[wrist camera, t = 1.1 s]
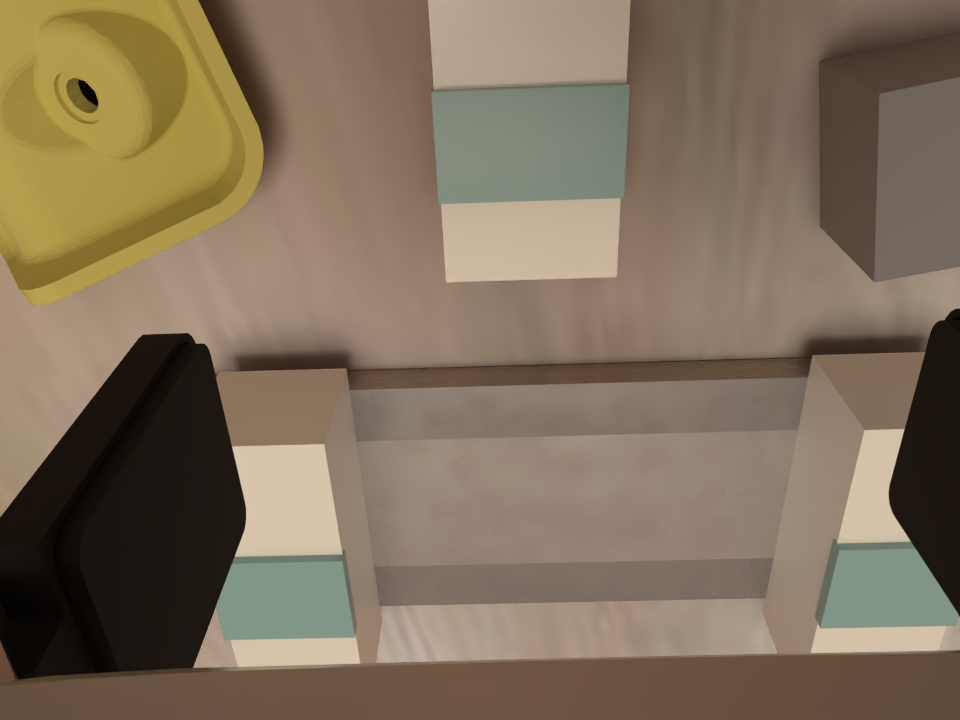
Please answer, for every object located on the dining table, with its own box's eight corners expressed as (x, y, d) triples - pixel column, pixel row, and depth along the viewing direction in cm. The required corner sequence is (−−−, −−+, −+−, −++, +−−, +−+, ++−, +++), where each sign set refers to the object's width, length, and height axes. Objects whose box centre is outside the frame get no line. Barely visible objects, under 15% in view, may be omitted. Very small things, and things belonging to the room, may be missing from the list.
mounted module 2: (945, 351, 31) (1025, 432, 27) (871, 611, 38) (924, 710, 34) (811, 355, 31) (867, 436, 27) (761, 613, 38) (799, 713, 34)
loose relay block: (973, 27, 27) (1066, 54, 23) (959, 199, 30) (1038, 252, 26) (818, 60, 27) (879, 93, 23) (819, 225, 30) (874, 281, 26)
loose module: (599, -45, 26) (636, -23, 20) (592, 198, 30) (619, 281, 24) (439, -38, 26) (424, -15, 20) (453, 203, 30) (444, 286, 24)
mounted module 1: (347, 368, 32) (323, 450, 27) (382, 620, 39) (368, 720, 34) (218, 371, 32) (172, 454, 27) (276, 622, 39) (248, 722, 34)
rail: (945, 354, 33) (964, 372, 32) (883, 571, 39) (896, 595, 38) (210, 374, 34) (199, 394, 32) (260, 585, 40) (253, 608, 38)
